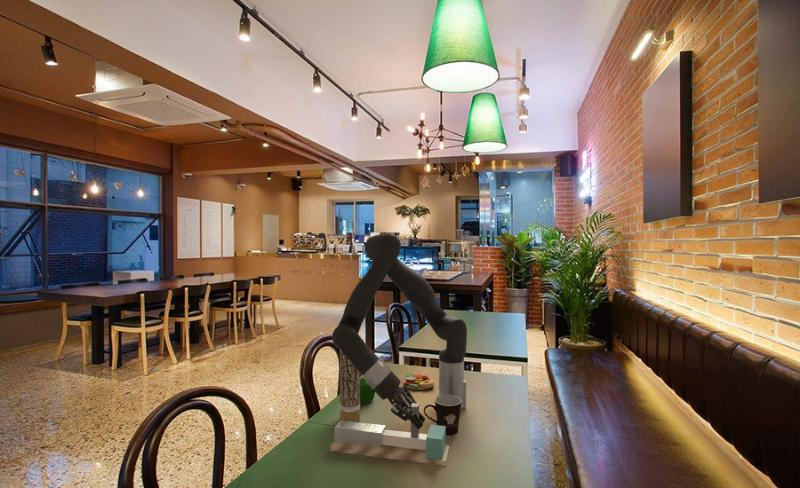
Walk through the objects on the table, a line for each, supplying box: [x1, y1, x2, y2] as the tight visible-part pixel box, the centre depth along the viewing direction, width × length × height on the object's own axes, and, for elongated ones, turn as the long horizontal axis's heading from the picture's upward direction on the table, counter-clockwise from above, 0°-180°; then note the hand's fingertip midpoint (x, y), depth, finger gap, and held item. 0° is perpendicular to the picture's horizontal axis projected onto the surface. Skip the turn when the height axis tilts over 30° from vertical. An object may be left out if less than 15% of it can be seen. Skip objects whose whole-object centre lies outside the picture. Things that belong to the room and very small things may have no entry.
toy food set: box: [402, 373, 435, 391], centre depth 167 cm, size 13×13×3 cm
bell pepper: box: [360, 376, 376, 404], centre depth 151 cm, size 8×8×10 cm
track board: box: [330, 441, 450, 467], centre depth 116 cm, size 34×8×2 cm, turn 77°
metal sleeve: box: [333, 419, 386, 449], centre depth 118 cm, size 14×5×5 cm, turn 77°
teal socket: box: [426, 424, 447, 460], centre depth 112 cm, size 4×8×6 cm, turn 166°
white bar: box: [382, 402, 428, 450], centre depth 115 cm, size 19×3×12 cm, turn 77°
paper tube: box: [339, 349, 361, 422], centre depth 135 cm, size 7×7×25 cm
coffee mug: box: [423, 395, 462, 437], centre depth 128 cm, size 12×9×10 cm
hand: (422, 424), depth 113 cm, fingers closed on white bar, 2 cm apart
